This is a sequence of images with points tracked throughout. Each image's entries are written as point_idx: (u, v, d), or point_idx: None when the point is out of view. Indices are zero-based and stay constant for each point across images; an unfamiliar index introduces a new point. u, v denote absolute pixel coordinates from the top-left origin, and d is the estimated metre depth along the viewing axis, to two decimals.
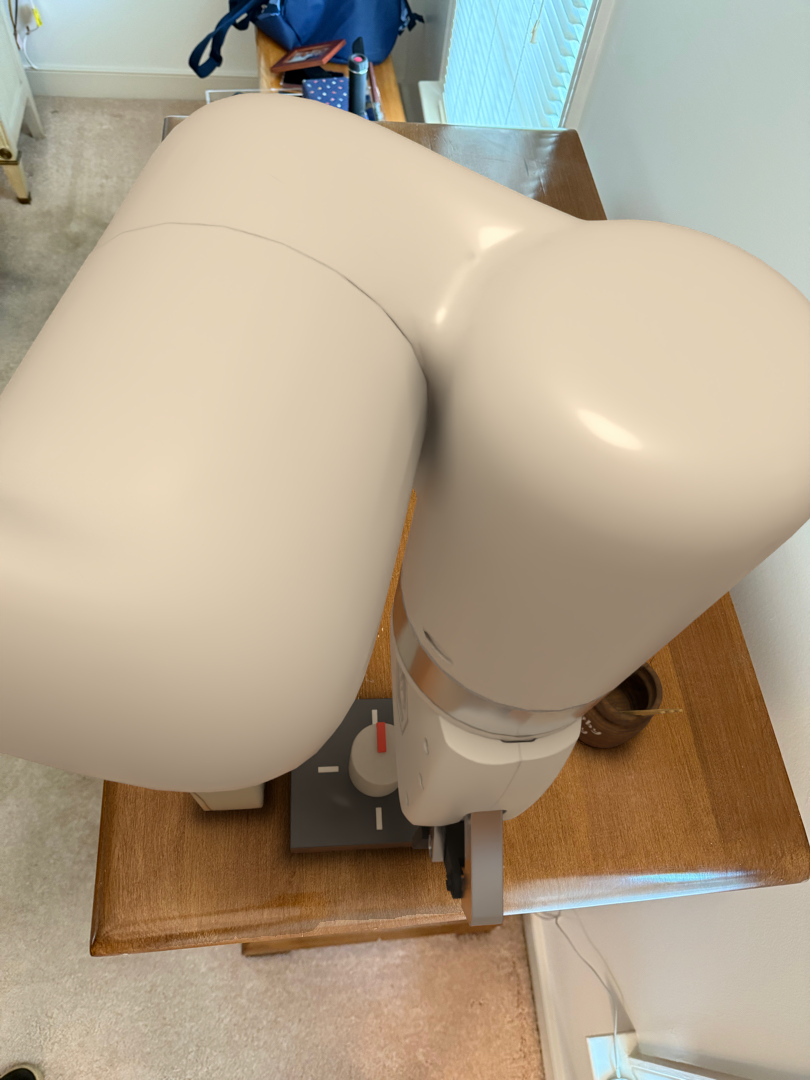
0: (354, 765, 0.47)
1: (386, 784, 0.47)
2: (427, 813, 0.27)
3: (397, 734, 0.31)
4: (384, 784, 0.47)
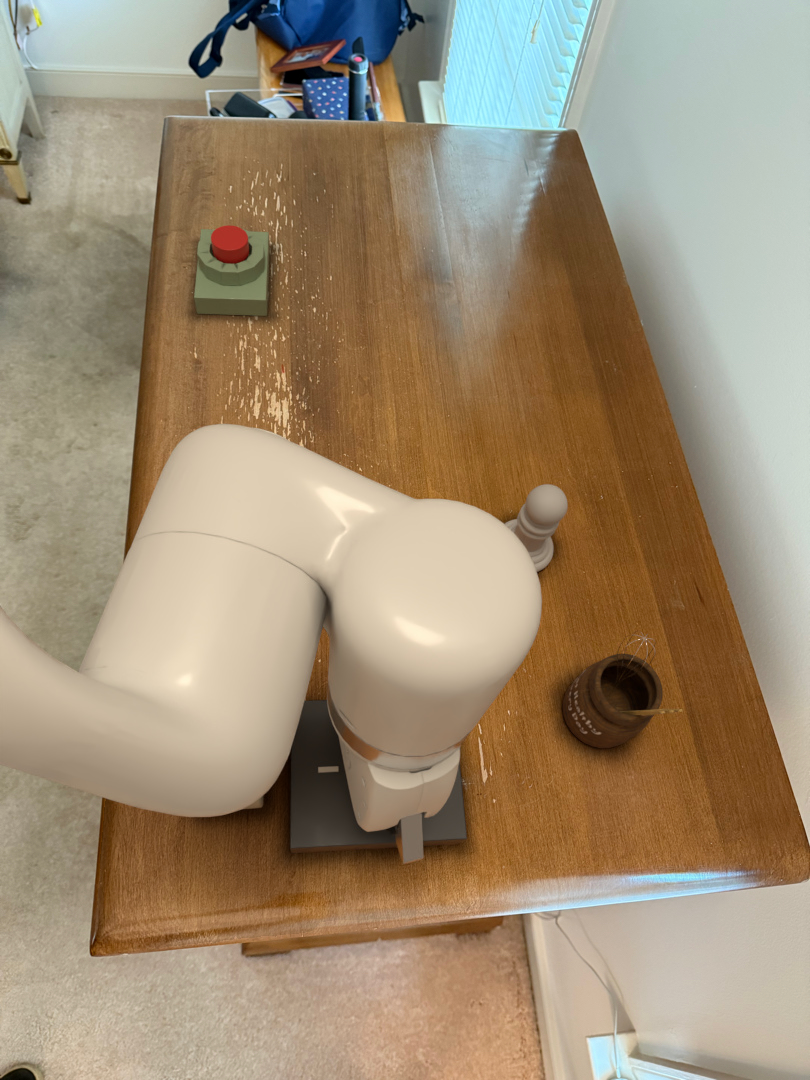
0: None
1: None
2: (373, 823, 0.39)
3: (346, 769, 0.43)
4: None
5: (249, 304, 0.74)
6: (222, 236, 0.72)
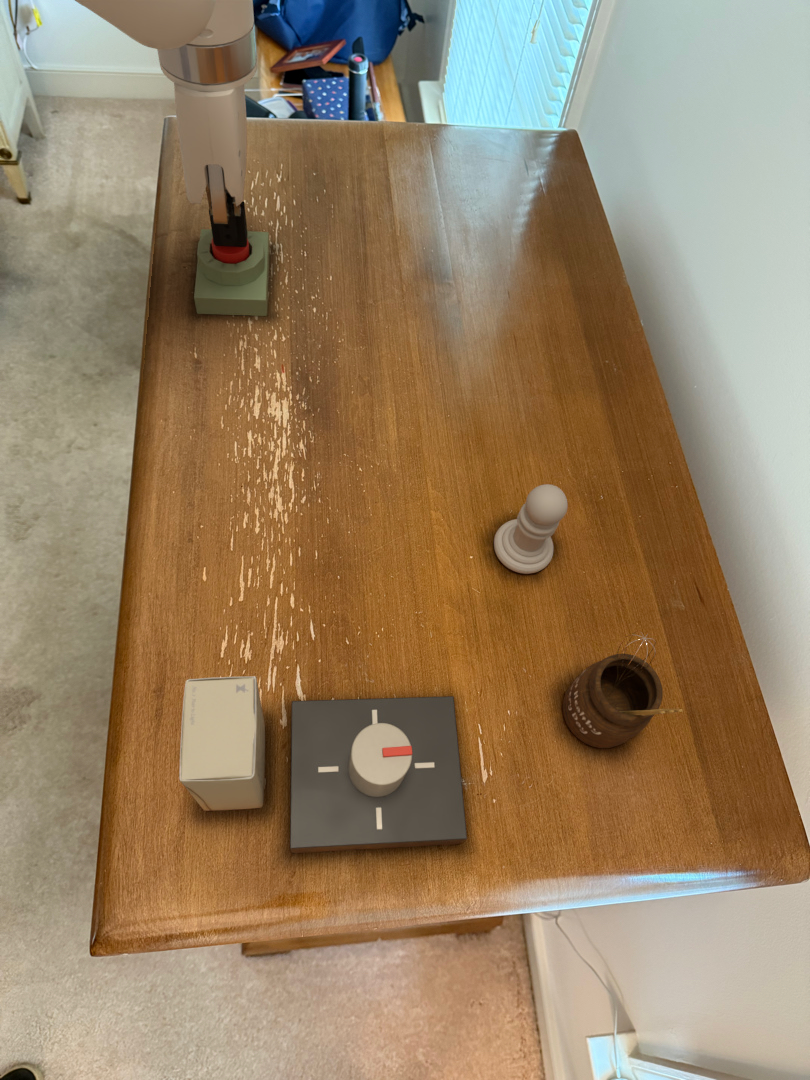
0: (369, 726, 0.49)
1: (352, 759, 0.48)
2: (187, 169, 0.61)
3: None
4: (351, 757, 0.48)
5: (249, 304, 0.74)
6: None
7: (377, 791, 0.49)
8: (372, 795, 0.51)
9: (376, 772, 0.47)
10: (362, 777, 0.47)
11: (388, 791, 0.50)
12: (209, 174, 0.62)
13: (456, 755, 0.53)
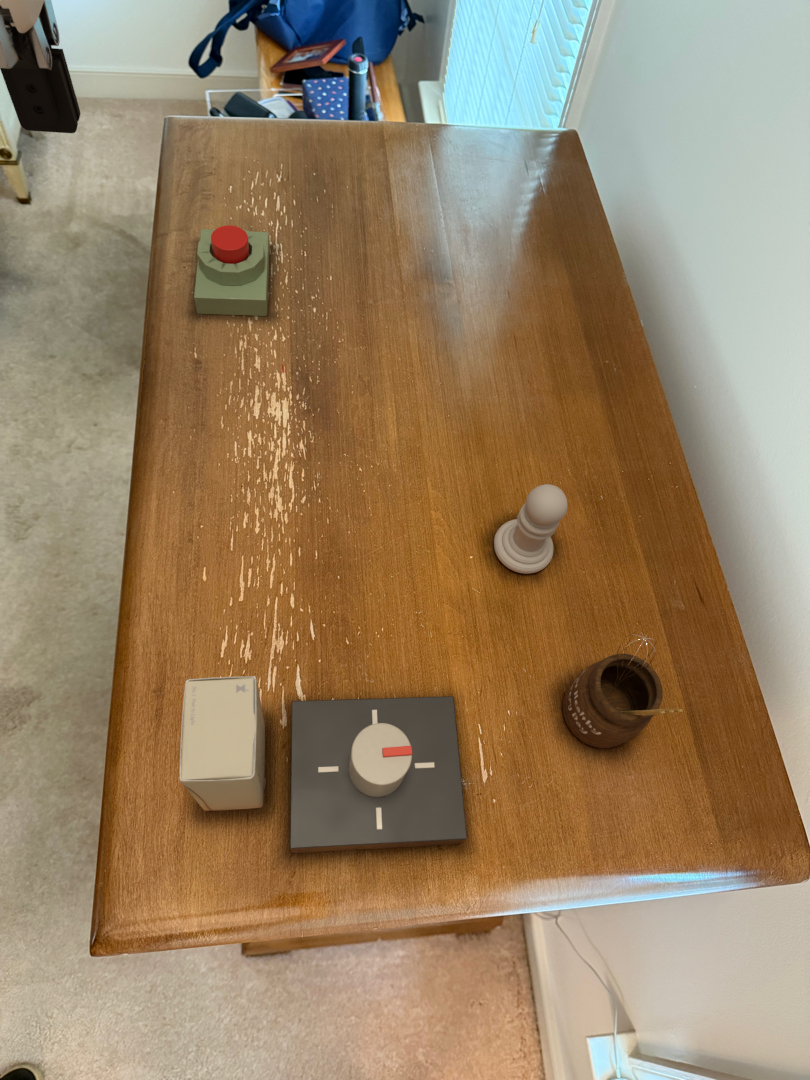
0: (369, 726, 0.49)
1: (352, 759, 0.48)
2: None
3: None
4: (351, 757, 0.48)
5: (249, 304, 0.74)
6: (222, 236, 0.72)
7: (377, 791, 0.49)
8: (372, 795, 0.51)
9: (376, 772, 0.47)
10: (362, 777, 0.47)
11: (388, 791, 0.50)
12: None
13: (456, 755, 0.53)
